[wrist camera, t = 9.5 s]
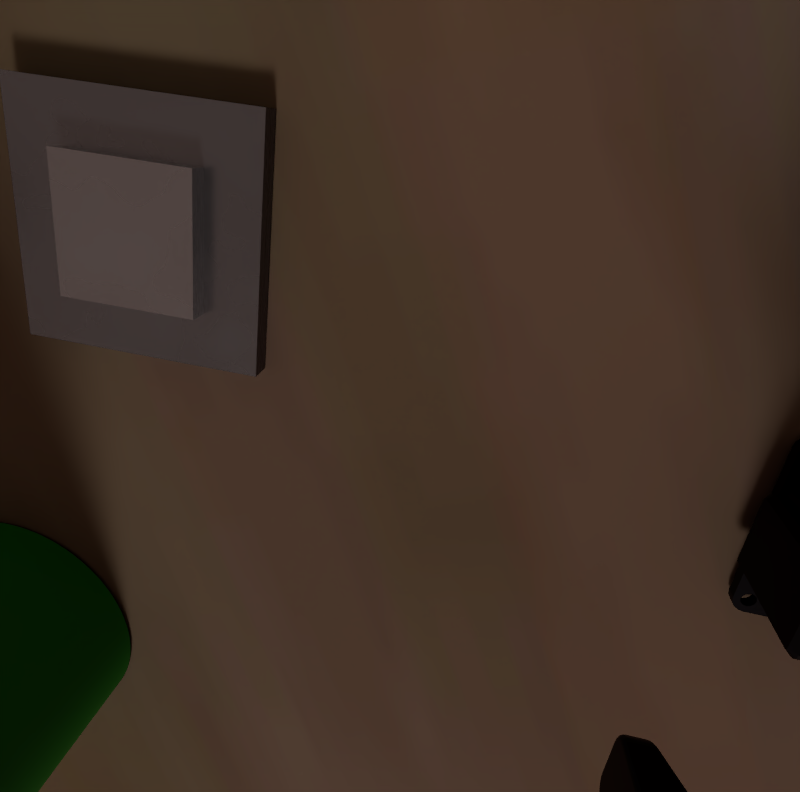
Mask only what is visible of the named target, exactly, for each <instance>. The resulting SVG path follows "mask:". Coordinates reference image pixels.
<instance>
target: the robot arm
mask: <svg viewBox="0 0 800 792" xmlns="http://www.w3.org/2000/svg"><path fill="white" fill-rule="evenodd" d="M738 563H739V568H738V570H737V572H736V574H735V577H734V579H733V581H732V583H731V586H730V588H729V593H728V594H729V596H730V599H731V601H732V603H733V605H734V606H735V607H736V608H737V609H738V610H741V611H743V612H748V613H753V614H758V615H762V616H767V617H768V618H769V620H770V622H771V624H772V626H773V628H774V629H775V631H776V633H777V635H778V637H779V639H780V640H781V642H782V644H783V646H784V648H785V649H786V651H787V652H788V654H789V655H790V656H791V657H792V658H793V659H797V660H800V439H799V440H798V441H796V442H795V444H794V445H793V447H792V449H791V451H790V453H789V455H788V458H787V460H786V462H785V464H784V467H783V469H782V471H781V473H780V476H779V478H778V480H777V482H776V485H775V487H774V489H773V491H772V494H770V495H769V496H768V497H766V498H765V499H764V500H763V502H762V505H761V507H760V509H759V511H758V514H757V516H756V518H755V520H754V523H753V525H752V527H751V530H750V532H749V534H748V536H747V539H746V541H745V543H744V545H743V548H742V550H741V552H740V554H739V557H738ZM745 594H752V595H751V596H749V597H747V598H741V597H742V596H743V595H745ZM599 792H687V791H686V789H685V788H684V786H683V785H682V783H681V782H680V780H679V779H678V777H677V776H676V774H675V773H674V772H673V770H672V769H671V767H670V766H669V764H668V763H667V761H666V760H665V758H664V757H663V755H662V754H661V752H660V751H659V749H658V748H657V747H656V746H655V745H654V744H653V743H652V742H651V741H649V740H646V739H642V738H637V737H633V736H629V735H620V736H619V737H617V739H616V741H615V743H614V745H613V748H612V750H611V753H610V755H609V758H608V760H607V763H606V765H605V768H604V770H603V773H602V776H601V781H600V791H599Z"/></svg>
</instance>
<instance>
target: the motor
mask: <svg viewBox="0 0 800 792" xmlns="http://www.w3.org/2000/svg"><path fill="white" fill-rule="evenodd" d="M130 651H131V647H130V637H129V632H128V628H127V625H126V622H125V619H124V617H123V614H122V612H121V610H120V608H119V606H118V604H117V603H116V601H115V599H114V598H113V596H112V595H111V593H110V592H109V590H108V589H107V588H106V586H105V585H104V584H103V583H102V582H101V580H100V579H99V578H98V577H97V576H96V575H95V574H94V573H93V572H92V571H91V570H90V569H89V568H88V567H87V566H86V565H85V564H84V563H83V562H82V561H80V560H79V559H78V558H77V557H75V556H74V555H73V554H71V553H70V552H69V551H67V550H66V549H64V548H63V547H61V546H60V545H58V544H56V543H55V542H53V541H51V540H49V539H47V538H46V537H44V536H41V535H39V534H37V533H35V532H32V531H30V530H27V529H24V528H21V527H18V526H14V525H10V524H6V523H0V792H38V791H39V790H40V788H41V787H42V786H43V784H44V783H45V782H46V780H47V779H48V778H49V776H50V775H51V774H52V772H53V771H54V770H55V768H56V767H57V765H58V764H59V763H60V761H61V760H62V759H63V757H64V756H65V755H66V753H67V752H68V751H69V749H70V748H71V747H72V745H73V744H74V743H75V741H76V740H77V739H78V737H79V736H80V735H81V733H82V732H83V730H84V729H85V728H86V726H87V725H88V724H89V722H90V721H91V720H92V718H93V717H94V716H95V714H96V713H97V712H98V710H99V709H100V708H101V706H102V705H103V704H104V702H105V701H106V700H107V698H108V697H109V695H110V694H111V693H112V691H113V690H114V689H115V687H116V686H117V685H118V683H119V682H120V681H121V679H122V678H123V676H124V674H125V672H126V670H127V668H128V664H129V660H130Z"/></svg>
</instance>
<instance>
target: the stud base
mask: <svg viewBox="0 0 800 792" xmlns="http://www.w3.org/2000/svg"><path fill="white" fill-rule="evenodd" d="M0 84H1V92H2V101H3V109H4V117H5V126H6V134H7V142H8V151H9V159H10V167H11V176H12V184H13V192H14V201H15V209H16V217H17V226H18V234H19V242H20V251H21V259H22V267H23V276H24V284H25V292H26V301H27V309H28V317H29V326H30V334H34V335H39V336H44V337H49V338H55V339H60V340H65V341H71V342H76V343H81V344H86V345H92V346H97V347H102V348H107V349H113V350H118V351H123V352H129V353H134V354H139V355H144V356H150V357H155V358H160V359H165V360H171V361H176V362H181V363H187V364H192V365H197V366H202V367H208V368H213V369H218V370H223V371H229V372H234V373H239V374H245V375H250V376H255V377H256V376H257V375H258V374H259V373H260V372H261V371H262V370H263V369H265V350H266V328H267V305H268V282H269V259H270V237H271V214H272V191H273V168H274V146H275V123H276V109H274V108H267V107H260V106H253V105H246V104H239V103H232V102H225V101H218V100H211V99H204V98H197V97H190V96H183V95H176V94H169V93H162V92H155V91H148V90H141V89H134V88H127V87H120V86H113V85H106V84H99V83H92V82H85V81H78V80H71V79H64V78H57V77H50V76H43V75H37V74H30V73H23V72H16V71H9V70H2V69H0Z"/></svg>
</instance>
